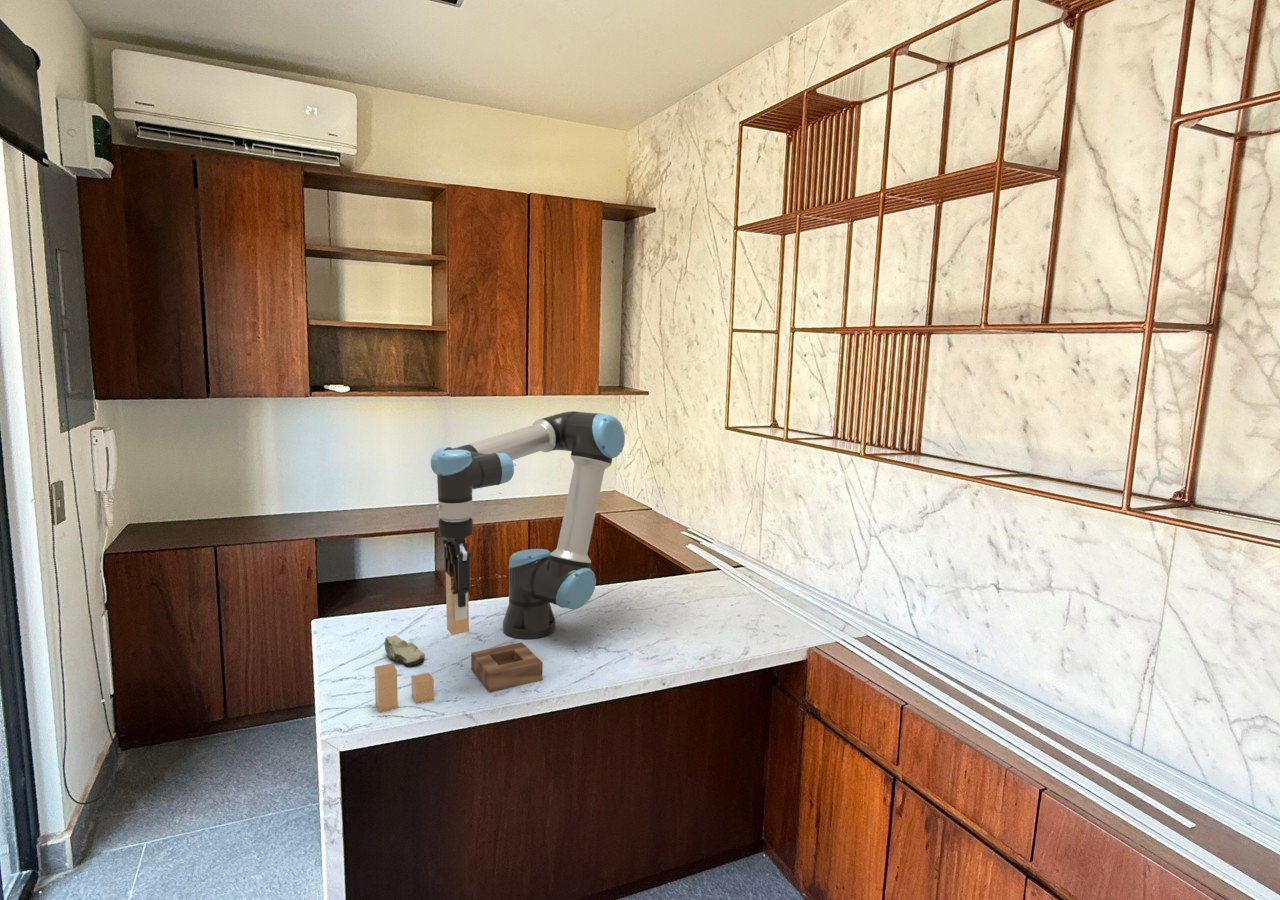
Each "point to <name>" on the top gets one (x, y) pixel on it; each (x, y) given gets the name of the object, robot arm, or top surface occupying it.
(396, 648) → the rock
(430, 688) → the short pin
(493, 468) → the robot arm
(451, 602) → the long pin
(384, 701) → the medium pin
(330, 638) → the top surface
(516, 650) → the hole block
